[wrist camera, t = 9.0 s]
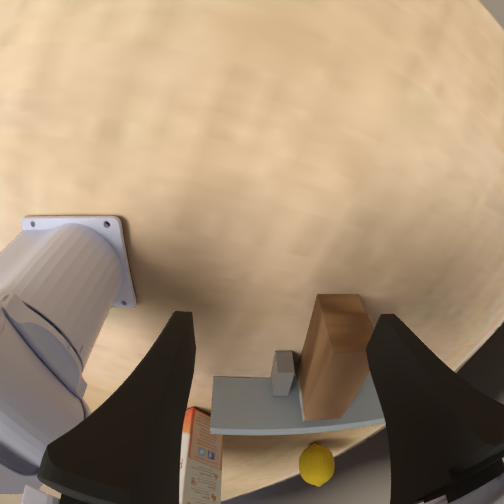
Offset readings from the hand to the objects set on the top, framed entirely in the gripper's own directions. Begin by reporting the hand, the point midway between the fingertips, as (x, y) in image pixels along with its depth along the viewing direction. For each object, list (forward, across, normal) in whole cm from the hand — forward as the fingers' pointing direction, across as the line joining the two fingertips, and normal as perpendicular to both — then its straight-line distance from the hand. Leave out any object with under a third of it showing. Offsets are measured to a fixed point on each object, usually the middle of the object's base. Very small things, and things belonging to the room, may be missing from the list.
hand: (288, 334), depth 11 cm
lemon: (+10, -11, +38) cm, 41 cm away
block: (+10, -6, +11) cm, 16 cm away
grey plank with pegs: (+10, -6, +15) cm, 19 cm away
